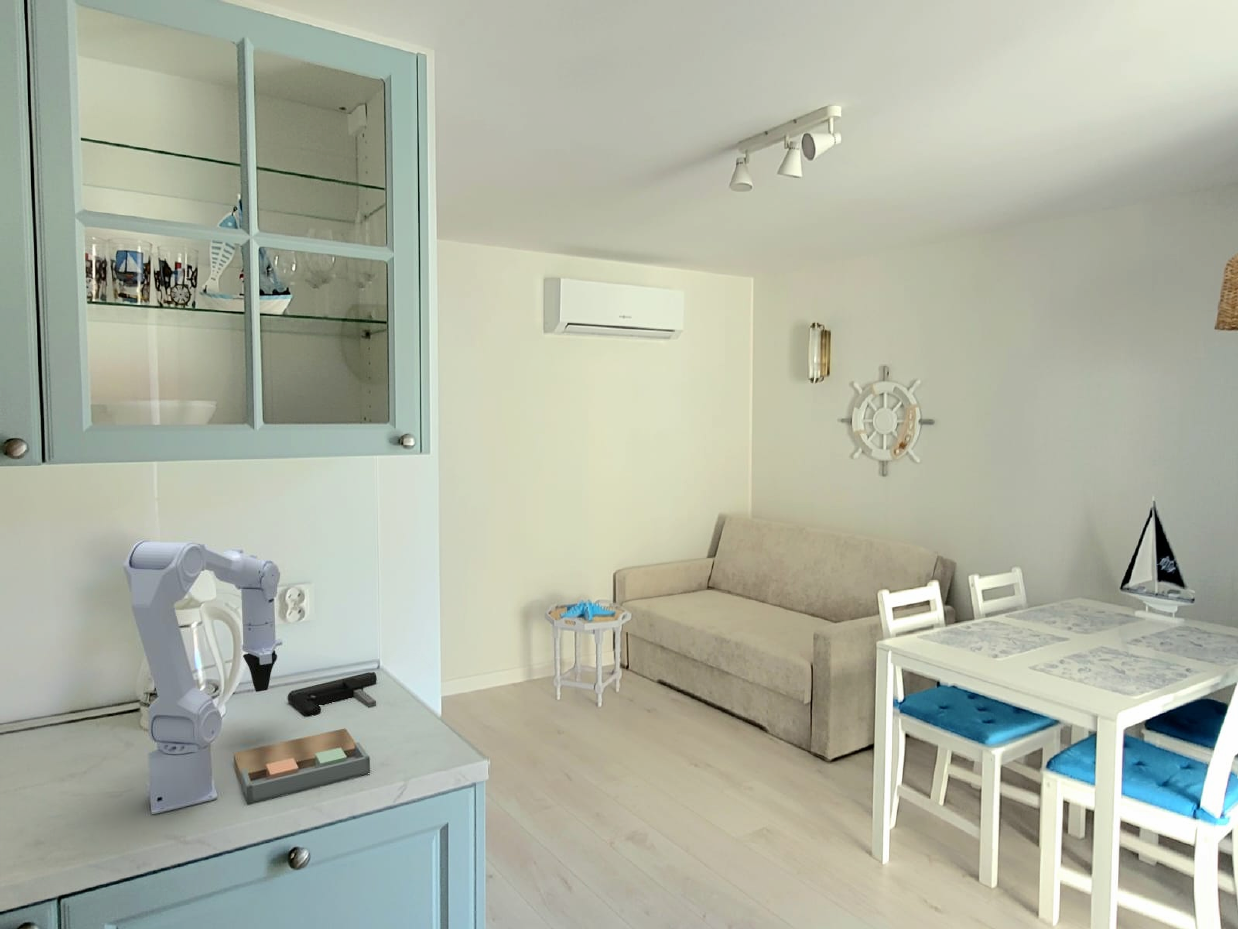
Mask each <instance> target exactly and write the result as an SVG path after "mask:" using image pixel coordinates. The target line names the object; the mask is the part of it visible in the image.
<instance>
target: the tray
mask: <svg viewBox="0 0 1238 929" xmlns="http://www.w3.org/2000/svg"><path fill="white" fill-rule="evenodd" d="M354 749H355V756H353V757H349V758H347V761H345V762H341V763H337V764H333V765H328V766H324V767H320V768H316V767H315V766H312V767H307V768H303V769H299V773H295V774H291V775H287V776H283V777H279V778H274V779H270V780H267V778H261V779H257V780H253V781H250V778H249V775H248V773H247V770H246V768H245V769H241V783H240V786H241V789H242V792H243V795H244V799H245V800H246V803H247V804H246V805H248V804H249V805H253V804H256V803H260V802H265V801H267V799H268V800H271V798H272V799H274V798H273V797H276V798H279V797H278V796H280V797H283V796H282V795H284V796H287V795H286V794H288V795H292V794H294V793H299V792H300V793H301V792H303V791H306V790H312V789H315V788H319V787H322V786H327V785H331V784H336V783H338V782H344V781H346V780H351V779H354V778H353V777H355V778H358V776H359V777H363V776H366V775H365V774H367V775H369V774H368V773H370V774H371V765H370V764H371V763H370V762H371V761H370V760H371V759H370V756H369V755H368V753H367V752H366V751H365V749H364V748H363V746H362V745H361V743H360V742H355V743H354ZM362 775H363V776H362ZM350 778H351V779H350ZM259 801H260V802H259Z"/></svg>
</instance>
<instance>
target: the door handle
mask: <svg viewBox="0 0 1238 929" xmlns="http://www.w3.org/2000/svg"><path fill="white" fill-rule="evenodd" d="M377 678H378V677H377V674H376V672H374V671H373V672H364V673H360V674H356V675H352V676H348V677H344V678H340V679H339V678H338V679H335V680H331V681H327V682H323V683H320V684H319V683H318V684H315V685H311V686H307V687H301V688H297V689H294V690H291V691H290V692H289V693H288V695H287V702H288V703H289V704H290V705H293V706H294V707H295V708H296V709H297V710H298V711H299V712H300V713H301V714H302V715H303V716H304V717H313V716H312V715H314V716H317V715H318V713H319V714H320V713H321V711H322V708H321V707H322V706H319V705H323V706H326V705H325V704H327V705H330V704H329V703H331V704H333V703H332V702H335V703H337V702H341V700H342V701H346V700H349V699H348V698H350V699H355V698H356V699H355V700H357V701H358V702H359V703H361V704H363V705H364V706H365V707H367V708H369V709H370V708H373V707H376V706H377V701H376V699H375V698H373V697H372V696H371V695H370V694H368V693H367V692H365V691H364V687H368V686H372V685H373V684H375V683H377V681H378V679H377ZM345 699H346V700H345ZM316 714H317V715H316Z"/></svg>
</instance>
